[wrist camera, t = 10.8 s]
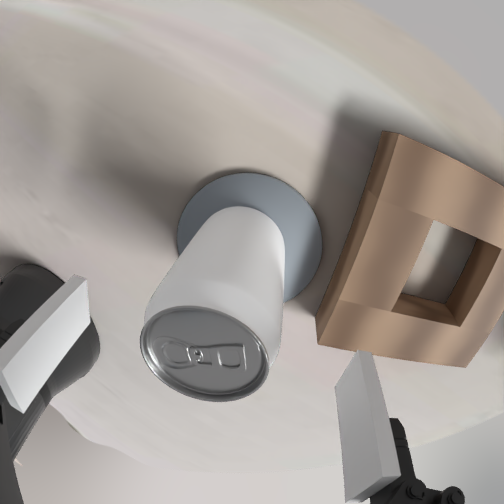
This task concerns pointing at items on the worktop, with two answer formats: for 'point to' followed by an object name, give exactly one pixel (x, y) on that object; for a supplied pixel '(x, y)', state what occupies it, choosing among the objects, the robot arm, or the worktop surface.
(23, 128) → the worktop surface
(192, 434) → the worktop surface
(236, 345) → the can
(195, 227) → the slate mat
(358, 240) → the pocket block
